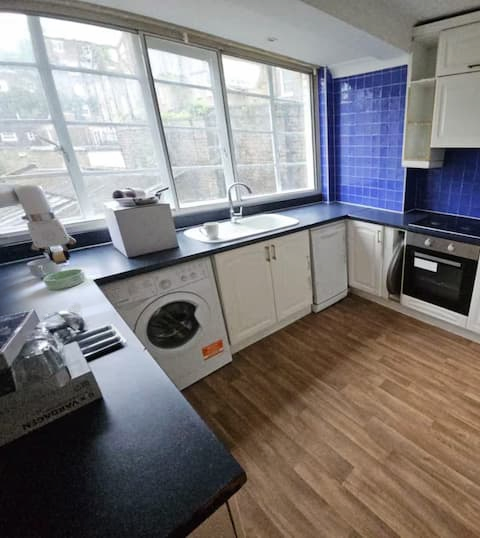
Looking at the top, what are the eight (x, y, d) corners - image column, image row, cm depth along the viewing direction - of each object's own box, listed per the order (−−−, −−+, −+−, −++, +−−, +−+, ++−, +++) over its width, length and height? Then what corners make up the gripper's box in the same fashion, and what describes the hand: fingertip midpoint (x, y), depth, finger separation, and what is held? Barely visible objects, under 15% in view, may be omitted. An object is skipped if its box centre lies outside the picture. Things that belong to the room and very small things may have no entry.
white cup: (46, 268, 153) (37, 250, 149) (62, 262, 160) (54, 245, 156) (58, 268, 152) (50, 250, 148) (74, 262, 159) (66, 245, 155)
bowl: (45, 293, 126) (40, 283, 124) (49, 283, 135) (45, 274, 134) (85, 284, 133) (81, 275, 132) (87, 275, 143) (83, 266, 141)
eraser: (66, 262, 122) (62, 253, 120) (56, 264, 120) (52, 255, 118) (68, 258, 126) (64, 250, 124) (58, 260, 124) (53, 251, 122)
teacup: (41, 273, 146) (34, 258, 143) (69, 269, 150) (62, 255, 147) (25, 285, 134) (17, 268, 131) (56, 280, 138) (48, 264, 135)
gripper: (9, 222, 108) (32, 268, 115) (69, 215, 117) (87, 258, 125) (13, 219, 113) (35, 263, 121) (70, 212, 123) (87, 253, 130)
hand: (61, 260), depth 123 cm, fingers closed on eraser, 3 cm apart
